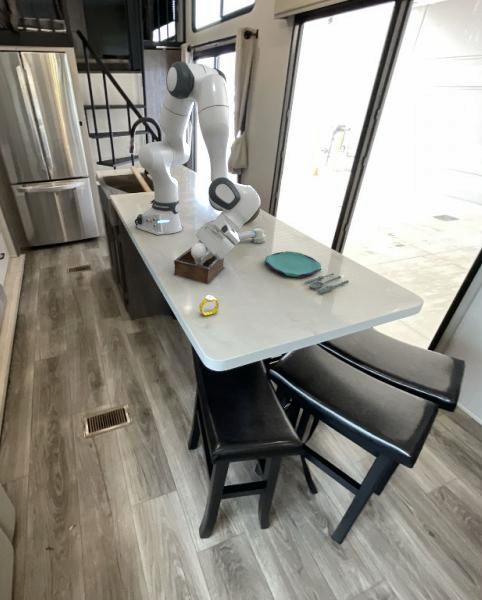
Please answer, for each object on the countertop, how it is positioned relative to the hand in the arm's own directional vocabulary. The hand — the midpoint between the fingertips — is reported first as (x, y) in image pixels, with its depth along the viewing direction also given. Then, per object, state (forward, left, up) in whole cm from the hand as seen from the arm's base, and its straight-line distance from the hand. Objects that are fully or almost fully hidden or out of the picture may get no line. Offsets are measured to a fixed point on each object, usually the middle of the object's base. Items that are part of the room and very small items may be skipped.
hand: (197, 256), depth 116 cm
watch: (+16, -23, -6) cm, 28 cm away
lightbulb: (0, 0, -6) cm, 6 cm away
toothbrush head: (+4, +32, -6) cm, 33 cm away
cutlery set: (+35, +18, -6) cm, 40 cm away
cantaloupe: (-3, +59, -6) cm, 60 cm away
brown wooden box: (+1, 0, -6) cm, 6 cm away
